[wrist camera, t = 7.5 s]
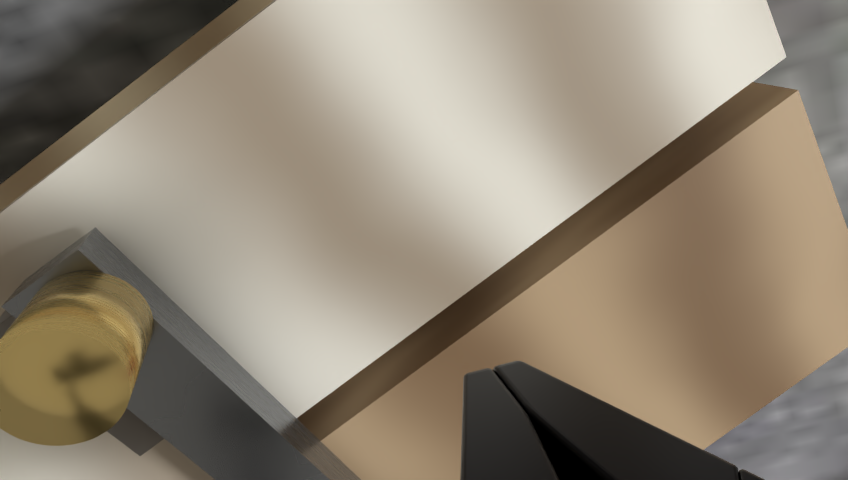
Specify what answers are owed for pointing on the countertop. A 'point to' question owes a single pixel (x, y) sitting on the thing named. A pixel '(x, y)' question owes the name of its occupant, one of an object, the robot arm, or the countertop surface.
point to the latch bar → (140, 373)
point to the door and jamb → (455, 217)
